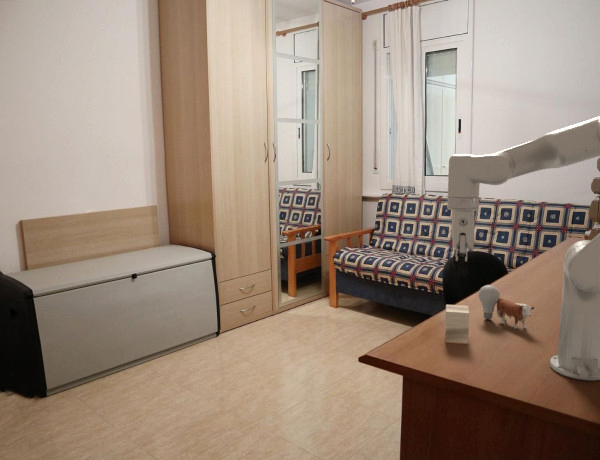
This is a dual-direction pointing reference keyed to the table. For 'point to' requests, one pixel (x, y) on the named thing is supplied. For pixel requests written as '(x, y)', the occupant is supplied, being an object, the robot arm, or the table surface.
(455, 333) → the birch block
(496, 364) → the table surface
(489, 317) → the lightbulb
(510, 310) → the bull figurine
